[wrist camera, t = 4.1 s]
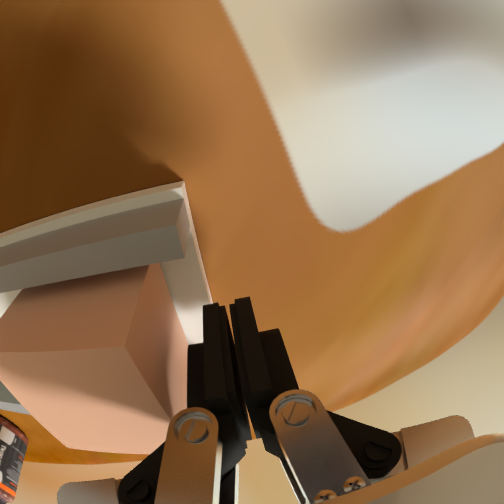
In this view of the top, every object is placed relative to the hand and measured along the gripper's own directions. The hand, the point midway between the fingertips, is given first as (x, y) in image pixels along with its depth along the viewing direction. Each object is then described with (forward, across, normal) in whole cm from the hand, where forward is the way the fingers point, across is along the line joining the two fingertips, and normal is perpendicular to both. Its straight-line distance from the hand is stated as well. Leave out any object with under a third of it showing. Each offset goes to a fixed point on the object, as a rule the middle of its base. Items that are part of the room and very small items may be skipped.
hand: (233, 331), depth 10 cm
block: (+2, +5, 0) cm, 6 cm away
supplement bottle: (+3, +28, +14) cm, 31 cm away
